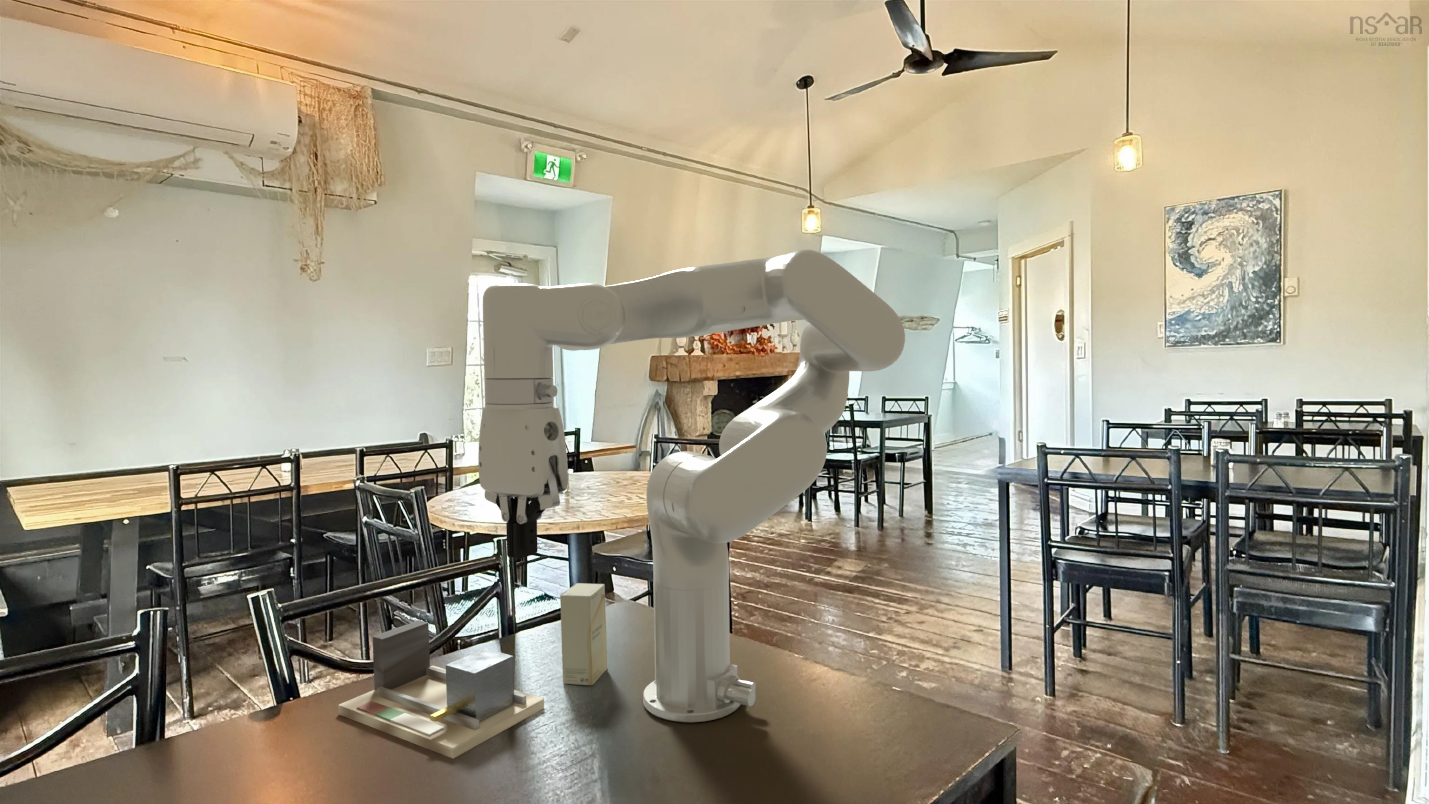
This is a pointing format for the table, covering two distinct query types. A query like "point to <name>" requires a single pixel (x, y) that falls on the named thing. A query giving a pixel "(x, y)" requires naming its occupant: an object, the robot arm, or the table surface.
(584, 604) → the skincare box
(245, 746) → the table surface
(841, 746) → the table surface
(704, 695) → the robot arm
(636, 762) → the table surface
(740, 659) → the table surface
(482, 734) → the gauge board
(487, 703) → the block
